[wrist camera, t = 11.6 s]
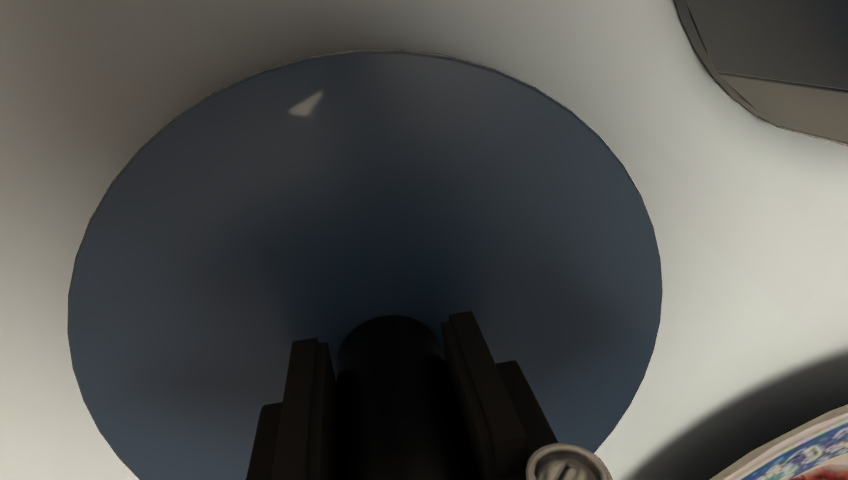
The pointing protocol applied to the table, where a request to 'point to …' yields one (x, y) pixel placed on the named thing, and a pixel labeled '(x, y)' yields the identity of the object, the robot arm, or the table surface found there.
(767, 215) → the table surface
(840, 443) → the ceramic plate
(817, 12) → the pot
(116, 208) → the pot lid
